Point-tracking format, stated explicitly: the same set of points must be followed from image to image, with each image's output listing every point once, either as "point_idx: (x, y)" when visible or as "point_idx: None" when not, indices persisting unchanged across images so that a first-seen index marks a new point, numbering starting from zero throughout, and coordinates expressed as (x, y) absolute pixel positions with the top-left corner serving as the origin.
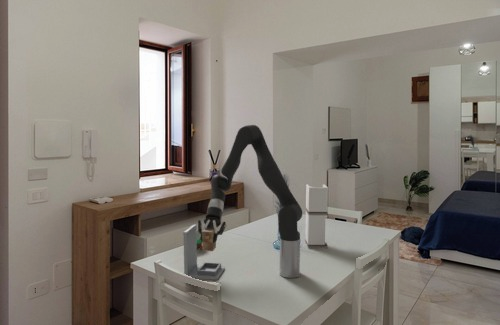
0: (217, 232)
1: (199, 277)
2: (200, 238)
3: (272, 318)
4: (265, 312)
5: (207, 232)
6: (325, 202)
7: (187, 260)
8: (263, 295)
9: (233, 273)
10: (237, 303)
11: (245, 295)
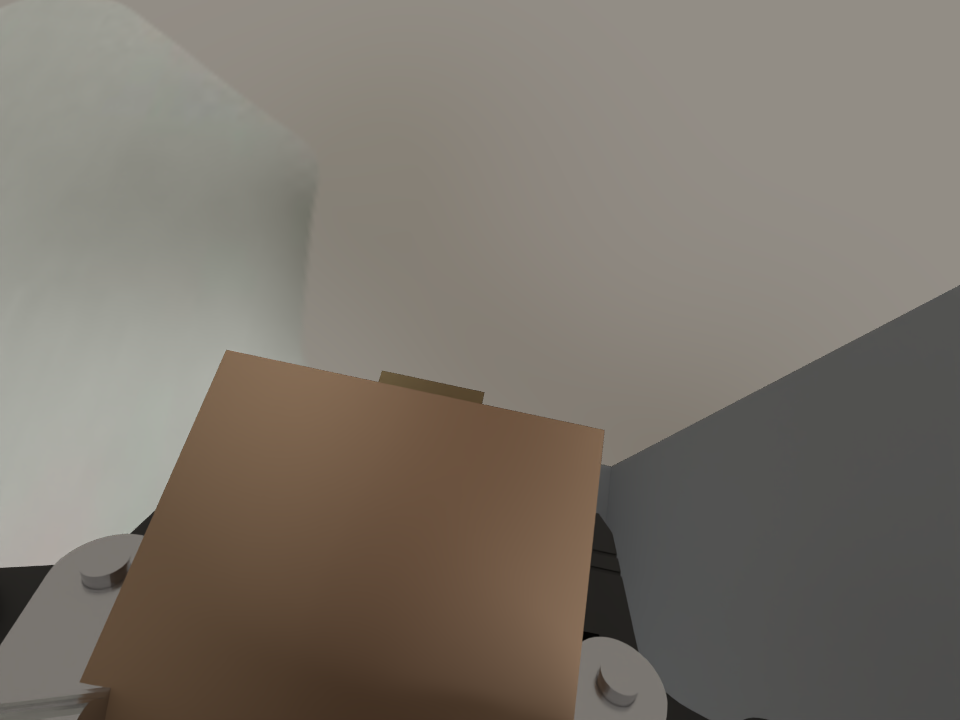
0: (60, 578)
1: None
2: (602, 528)
3: (107, 8)
4: (123, 46)
5: (415, 395)
6: None
7: (663, 447)
8: (67, 189)
9: None
10: (250, 122)
11: (183, 195)
